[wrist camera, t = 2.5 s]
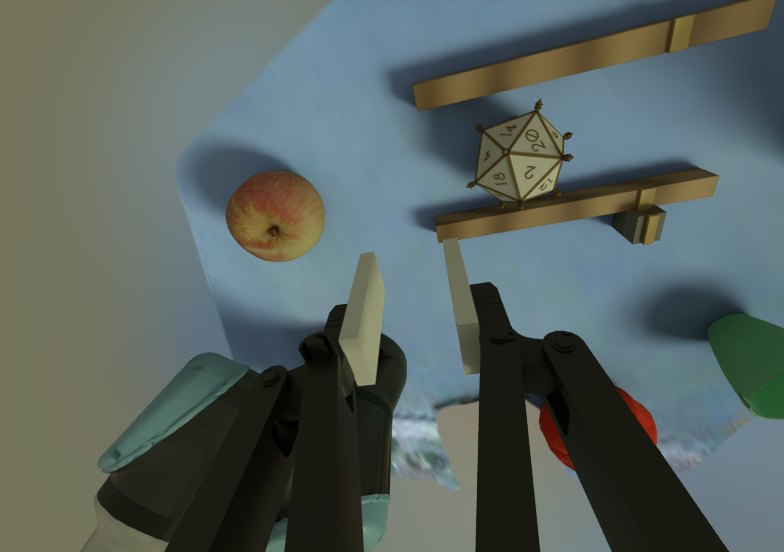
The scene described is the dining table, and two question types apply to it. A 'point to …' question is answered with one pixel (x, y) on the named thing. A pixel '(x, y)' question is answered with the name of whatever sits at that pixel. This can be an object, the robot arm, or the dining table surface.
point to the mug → (751, 361)
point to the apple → (276, 216)
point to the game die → (520, 158)
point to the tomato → (557, 444)
